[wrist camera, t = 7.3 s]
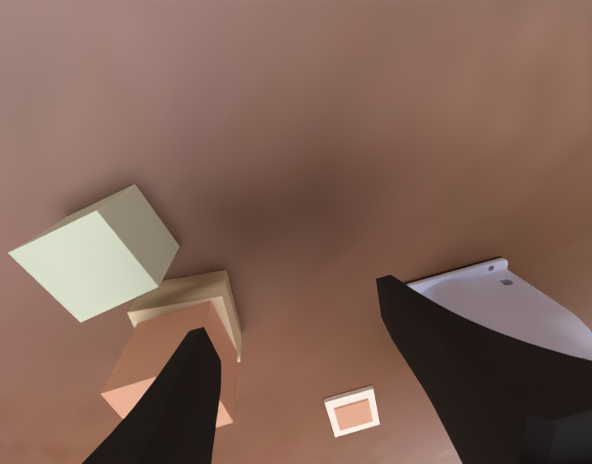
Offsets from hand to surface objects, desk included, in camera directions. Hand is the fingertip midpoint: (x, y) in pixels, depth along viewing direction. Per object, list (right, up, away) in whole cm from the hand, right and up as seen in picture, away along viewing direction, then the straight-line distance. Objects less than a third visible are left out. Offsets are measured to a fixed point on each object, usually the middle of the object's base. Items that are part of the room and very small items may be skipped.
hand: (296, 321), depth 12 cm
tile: (+6, -15, +19) cm, 25 cm away
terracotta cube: (-7, -4, +8) cm, 12 cm away
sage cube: (-11, +4, +8) cm, 14 cm away
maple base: (-8, -2, +11) cm, 14 cm away
